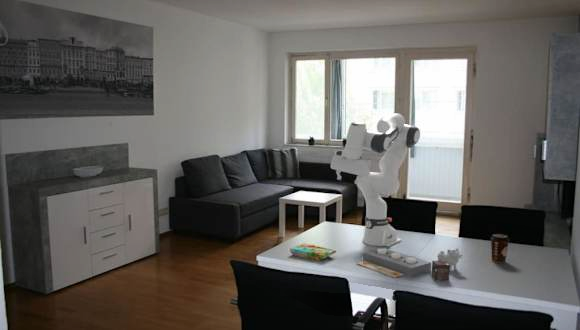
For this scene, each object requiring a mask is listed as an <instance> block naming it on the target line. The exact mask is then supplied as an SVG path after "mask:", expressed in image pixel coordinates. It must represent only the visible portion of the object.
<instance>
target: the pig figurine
mask: <svg viewBox="0 0 580 330" xmlns="http://www.w3.org/2000/svg"><path fill="white" fill-rule="evenodd" d="M462 258H463V254H462V253H461V252H460V251H459V248H457V247H456V248H454V249H449V248H448V249H447V252H445V251H444V250H440V251H439V252H438V254H437V261H446V262H447V263H448V264H449V265H450V272H452V268H453V270H455V271H457V270H458V268H457V264H458V263H459V261H460V259H462Z"/></svg>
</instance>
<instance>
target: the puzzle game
mask: <svg viewBox="0 0 580 330" xmlns="http://www.w3.org/2000/svg"><path fill="white" fill-rule="evenodd" d="M289 252H290V253H291V254H292V255H293V256H295V257H300V258H303V259H307V260H313V261H322V260H323V259H325V258H328V257H329V256H331V255H334V254H336V253H337V250H336V249H333V248H328V247H323V246H322V247H321V246H318V245H315V244H308V243H305V242H304V243H301V244H299V245H295V246H293V247H291V248H289Z"/></svg>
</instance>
